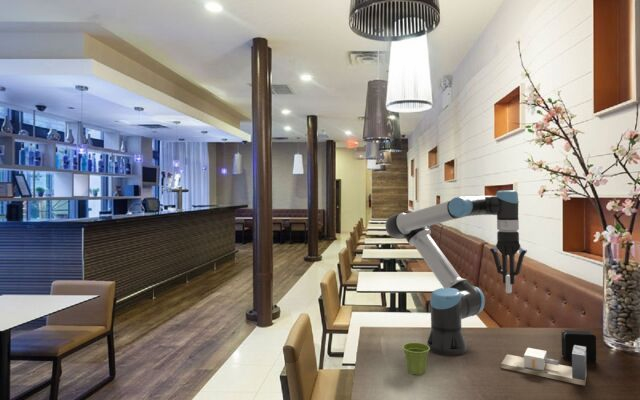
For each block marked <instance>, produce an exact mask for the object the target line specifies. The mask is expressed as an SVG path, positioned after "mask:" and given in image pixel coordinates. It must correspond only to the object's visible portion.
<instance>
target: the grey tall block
mask: <svg viewBox="0 0 640 400" xmlns="http://www.w3.org/2000/svg"><path fill="white" fill-rule="evenodd" d="M571 367H572V378H575V379H580V380H585V378H586V379H587V375H586V370H587V362H586V347H584V346H578V345H574V347H573V351H572V361H571Z"/></svg>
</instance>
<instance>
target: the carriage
mask: <svg viewBox="0 0 640 400" xmlns="http://www.w3.org/2000/svg"><path fill="white" fill-rule="evenodd" d="M547 354H548V352H547V350H542V349H538V348H531V347H527V348H526V349H525V352H524V354H523V357H524V366H525V367H529V368H534V369H539V370H544V368H545V366H546V363H548V364H553V365H558V366H559V365H560V363H559V362H560V361H559V360H557V359H553V358H548V356H547Z"/></svg>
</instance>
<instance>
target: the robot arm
mask: <svg viewBox="0 0 640 400" xmlns="http://www.w3.org/2000/svg"><path fill="white" fill-rule="evenodd" d="M519 203H520V201H519V194H518V192H517V190H498V191H496V195H472V196H471V195H470V196H463V195H462V196H456V197H453V198H452V199H450V200H447V201H445V202H441V203H437V204H434V205H432V206H428V207H425V208H421V209H418V210H415V211H412V212H408V213H405V212H400V213H395V214H391V215H390V216H389V217H388V218H387V219H386V221H385V230H386V233H387V234H388V235H389V236H390V237H392V238H393V239H397V240H399V239H400V240H401V239H405V240H406V241H407V243H408V244H409V246H411V247H415V248H416V250H417V252H418V253H419V254H420V257H422V259H423V260H424V262H425V263H426V265H427V266H428V268H429V269H430V270H431V272H432V273H433V275H434V276H435V278H436V280H437V281H439V283H440V285H441V286H442V287H441V288H437V289H435V290H434V291H432V292H431V294H430V300H429V304H430V332H429V335H428V337H427V341H426V345H428V346H429V347H430V350H429V351H430V352H431V353H433V354H436V355H439V356H440V355H441V356H447V357H457V356H462V355H464V354H466V353H467V342H466V340H465V338H464V334H463V331H462V320H463V319H467V318H470V317H474V316H476V315H478V314H479V313H482V311H483V310H484V308H485V302H486V299H485V298H486V297H485V295H484V293H483V291H482V289H480V288H479V287H478V286H474V285H471V284H470V282H469V281H468V279H466V278H462V277H461V276H460V275H459V273H458V272H457V270H456V269H455V268H454V266H453V265H452V263H451V262H450V261H449V259H448V258H447V257H446V256H445V254H444V252H443V251H442V250H441V249H440V247H439V246H438V244H437V243H436V242H435V240H434V239H433V238H432V236H431V233H432V231H431V226H434V225H438V224H440V223H444V222H449V221H453V220H456V219H462V218H464V217H471V216H488V215H489V216H496V229H497V232H496V234H497V235H496V240H497V242H496V244H495V246H494V247H491V248H490V250H489V251H490V252H491V254H492V256H493V259H494V264H495V267H496V271H497V274H500V275H501V276H502V283H503V284H505V293H506V294H511V293H512V292H513V287H512V286H513V285H514V284H515V283H516V282H515V276H518V275H519V274H520V273H521V269H522V265H523V263H524V259H525V255H526V254H527V252H528V250H527V249H524V248H522V247H521V246H522V245H521V244H520V232H519V231H518V230H519V229H520V226H519V224H520V222H519ZM498 251H499V252H500V254H501V260H502V261H501V260H500V256H499V253H498ZM518 251H519V252H518ZM517 252H518V253H519V255H518V260H517V263H516V264H515V257H516V254H517ZM508 258H509V272H508ZM501 263H502V264H501ZM515 265H516V267H515Z"/></svg>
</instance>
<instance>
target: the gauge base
mask: <svg viewBox="0 0 640 400" xmlns="http://www.w3.org/2000/svg"><path fill="white" fill-rule="evenodd" d="M500 365H501V366H500V367H501V369H505V370H510V371H513V372H518V373H524V374H528V375H533V376H538V377H544V378H547V379H552V380H556V381H561V382H565V383H569V384H570V383H571V384H574V385H580V386H584V387H585V386H586V382H587V381H586V380H587V377H586V378H585V380H580V379H575V378H572V366H569V365H563V364H559V366H558V365H553V364H548V363H546V366H545V368H544V370H539V369H534V368H529V367H525V366H524V356H522V357H521V356H518V355H512V354H506V355H505V357H504V359H503V360H502V361H501V363H500ZM586 376H587V370H586Z"/></svg>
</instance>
